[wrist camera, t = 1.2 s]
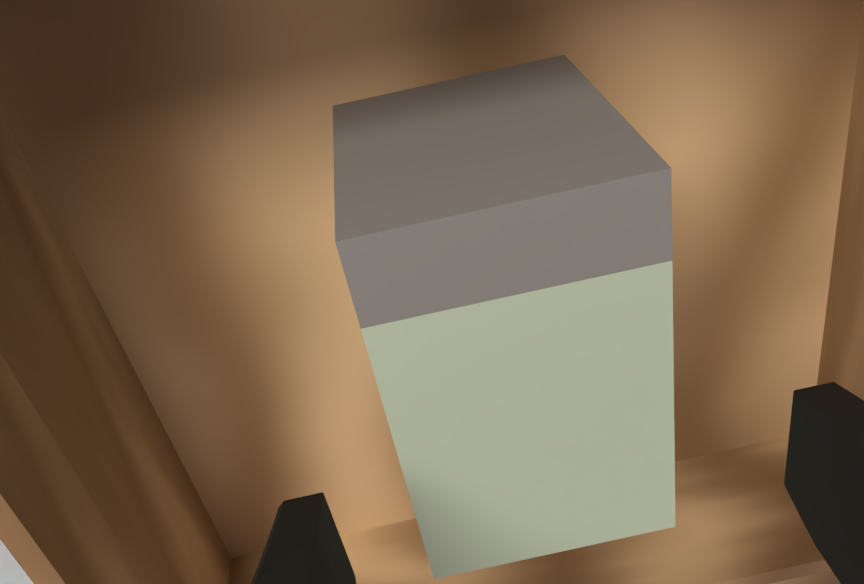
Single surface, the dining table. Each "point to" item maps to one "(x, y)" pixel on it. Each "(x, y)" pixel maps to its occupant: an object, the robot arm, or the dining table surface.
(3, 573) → the dining table surface
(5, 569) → the dining table surface
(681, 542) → the wooden tray
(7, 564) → the dining table surface
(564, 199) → the capped block
